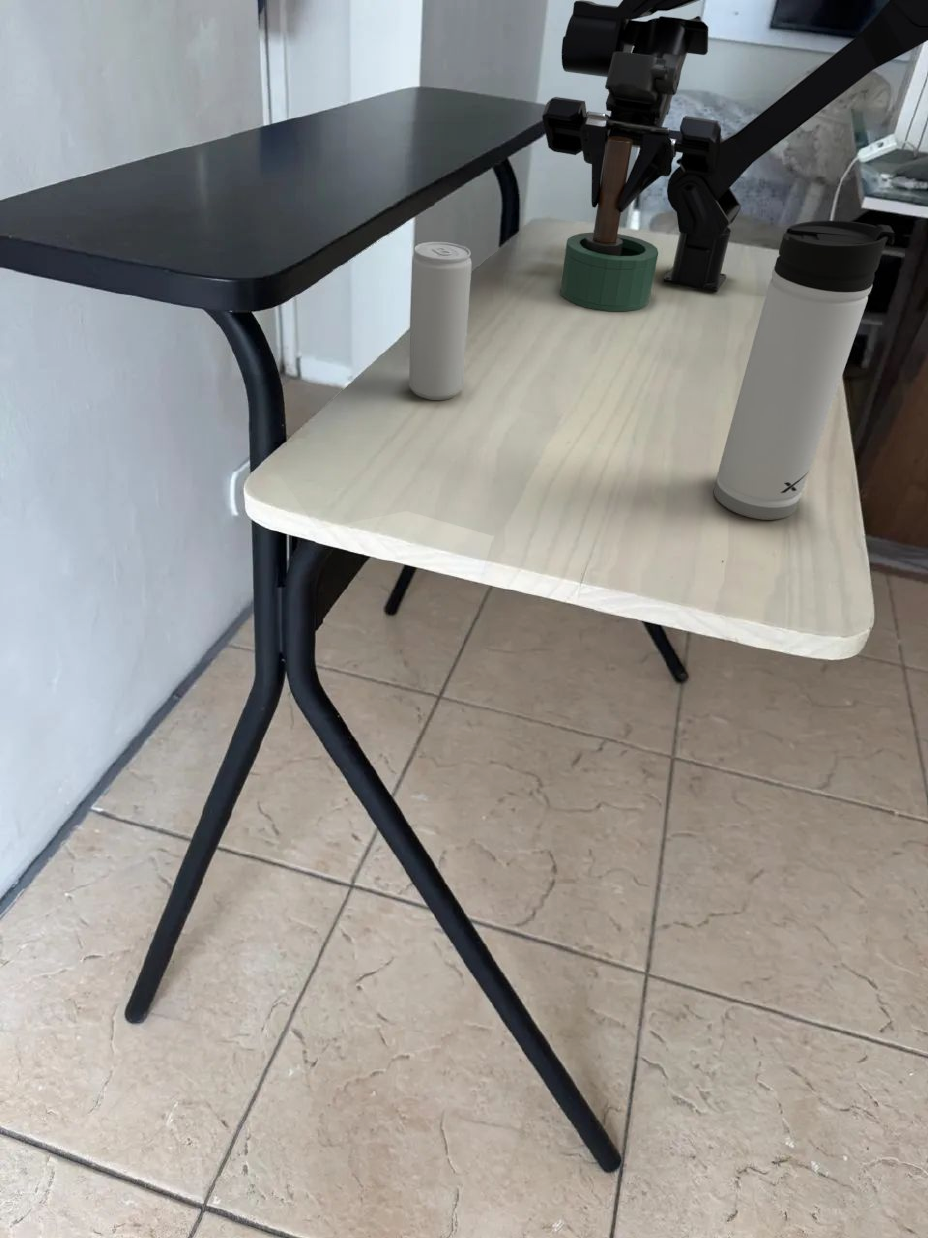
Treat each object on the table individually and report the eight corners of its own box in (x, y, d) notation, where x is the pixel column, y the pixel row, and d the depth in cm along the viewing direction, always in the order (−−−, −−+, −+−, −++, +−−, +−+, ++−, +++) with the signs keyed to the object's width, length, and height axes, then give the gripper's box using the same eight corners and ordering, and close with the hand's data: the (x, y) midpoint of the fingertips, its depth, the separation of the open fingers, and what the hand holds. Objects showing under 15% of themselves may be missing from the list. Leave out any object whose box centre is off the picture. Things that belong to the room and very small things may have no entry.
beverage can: (422, 405, 79) (428, 261, 71) (398, 383, 82) (402, 243, 75) (471, 397, 81) (483, 256, 73) (447, 376, 84) (455, 239, 77)
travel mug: (804, 528, 67) (904, 243, 55) (713, 513, 68) (791, 228, 56) (797, 487, 72) (888, 216, 60) (712, 473, 73) (784, 203, 60)
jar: (575, 275, 110) (582, 227, 106) (657, 291, 107) (667, 242, 104) (548, 299, 102) (555, 248, 99) (636, 317, 100) (645, 265, 96)
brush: (588, 259, 105) (606, 132, 97) (622, 265, 104) (643, 138, 96) (577, 268, 102) (596, 139, 94) (612, 275, 101) (634, 145, 93)
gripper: (559, 6, 94) (511, 143, 93) (742, 28, 89) (694, 173, 88) (572, 85, 105) (528, 209, 103) (735, 108, 100) (692, 239, 98)
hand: (606, 207), depth 98 cm, fingers closed on brush, 2 cm apart
